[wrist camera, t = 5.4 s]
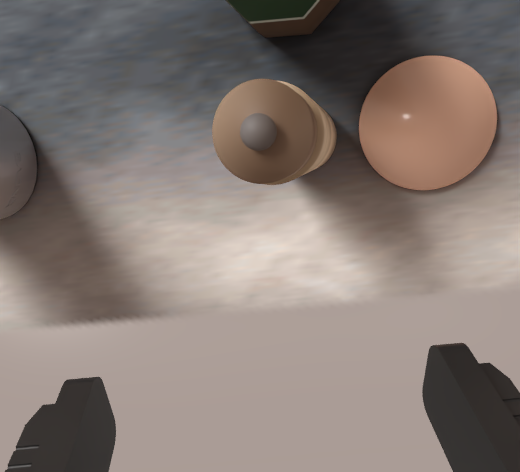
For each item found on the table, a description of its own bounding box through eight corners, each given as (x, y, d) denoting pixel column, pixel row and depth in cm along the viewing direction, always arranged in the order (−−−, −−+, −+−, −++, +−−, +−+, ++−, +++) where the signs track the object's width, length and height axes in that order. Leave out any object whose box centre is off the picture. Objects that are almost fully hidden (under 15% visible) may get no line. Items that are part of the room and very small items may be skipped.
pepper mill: (262, 159, 31) (184, 170, 18) (281, 95, 30) (215, 53, 17) (324, 180, 31) (292, 207, 17) (346, 114, 30) (331, 88, 16)
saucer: (341, 166, 30) (341, 167, 30) (385, 41, 28) (385, 39, 28) (462, 206, 29) (464, 207, 29) (517, 78, 27) (520, 77, 27)
